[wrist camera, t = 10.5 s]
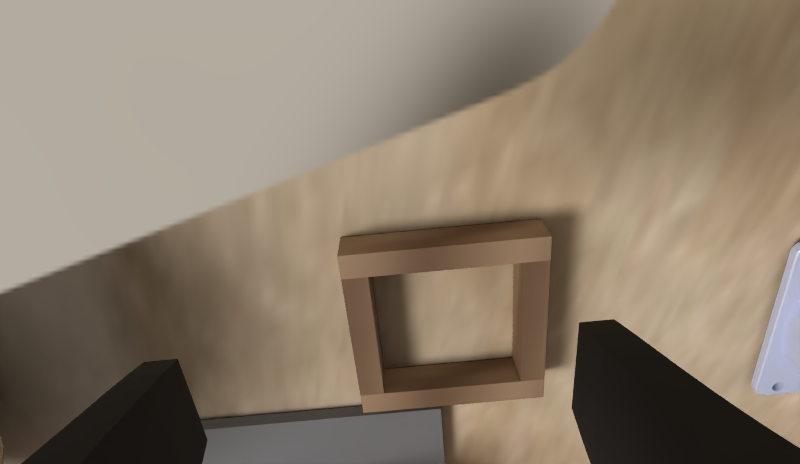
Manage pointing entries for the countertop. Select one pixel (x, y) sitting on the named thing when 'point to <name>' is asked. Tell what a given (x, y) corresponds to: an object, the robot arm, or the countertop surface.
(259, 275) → the countertop surface
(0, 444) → the cantaloupe
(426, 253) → the square wooden frame
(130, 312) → the countertop surface
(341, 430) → the rubber mat
